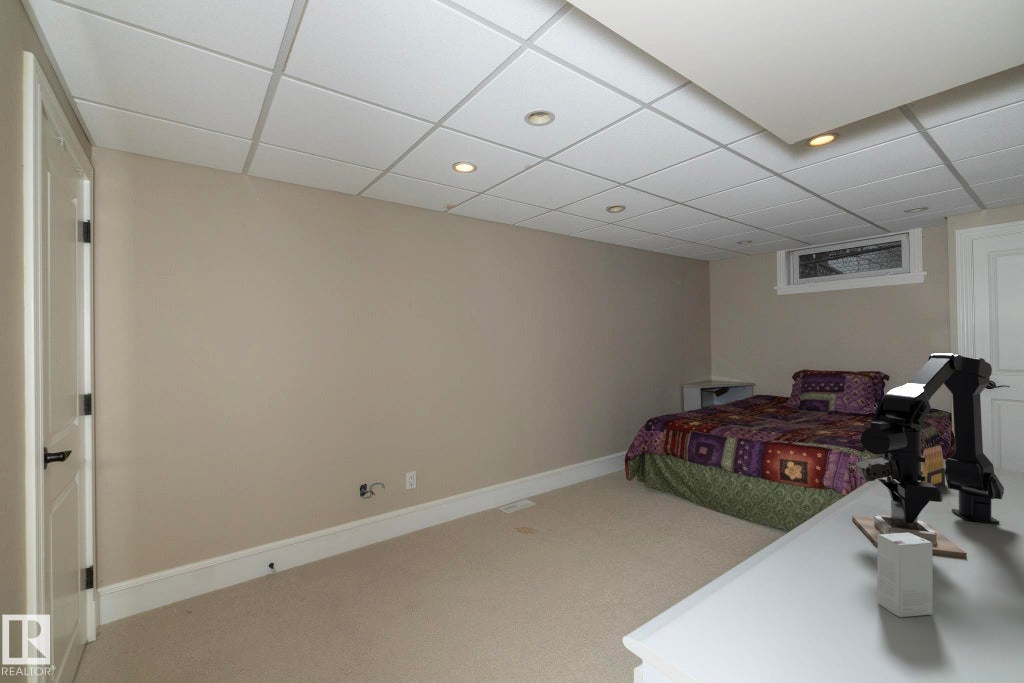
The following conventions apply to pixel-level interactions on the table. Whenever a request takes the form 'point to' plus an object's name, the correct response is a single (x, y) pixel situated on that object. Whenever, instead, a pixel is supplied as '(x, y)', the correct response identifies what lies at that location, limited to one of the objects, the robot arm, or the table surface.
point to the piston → (901, 516)
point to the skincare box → (904, 574)
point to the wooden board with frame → (925, 531)
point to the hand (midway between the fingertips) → (904, 518)
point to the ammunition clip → (933, 466)
